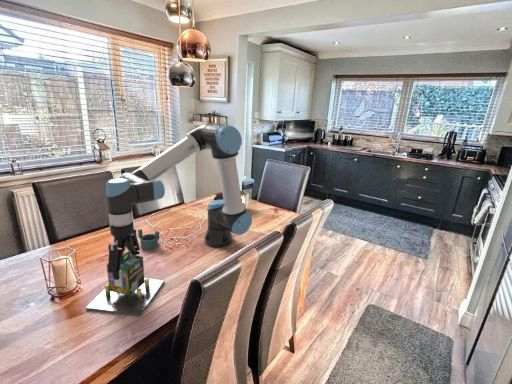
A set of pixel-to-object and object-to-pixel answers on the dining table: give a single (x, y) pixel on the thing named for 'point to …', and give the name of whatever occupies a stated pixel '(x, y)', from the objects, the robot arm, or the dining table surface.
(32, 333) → the dining table surface
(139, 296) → the plate
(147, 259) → the dining table surface
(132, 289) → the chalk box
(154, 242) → the green pot
